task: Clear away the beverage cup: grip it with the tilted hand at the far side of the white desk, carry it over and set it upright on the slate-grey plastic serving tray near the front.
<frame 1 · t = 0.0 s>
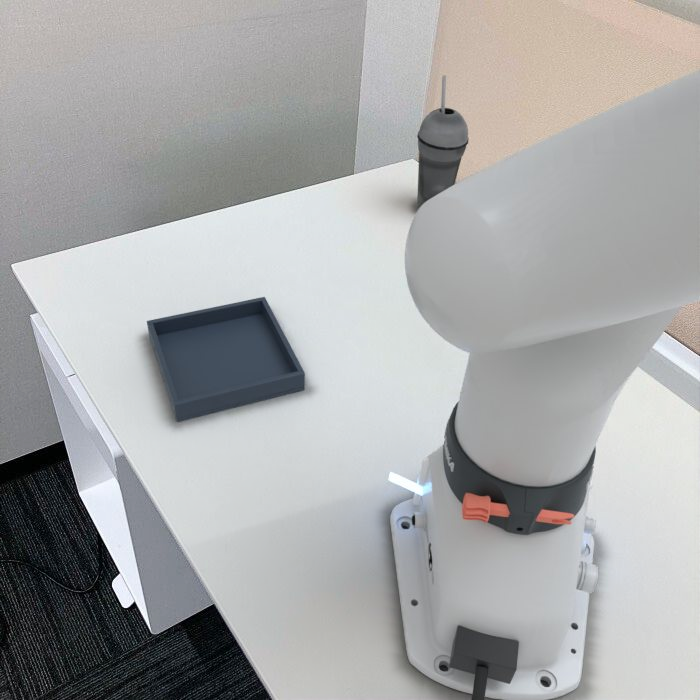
beverage cup: (432, 209, 112), on the table
tray: (224, 363, 84), on the table
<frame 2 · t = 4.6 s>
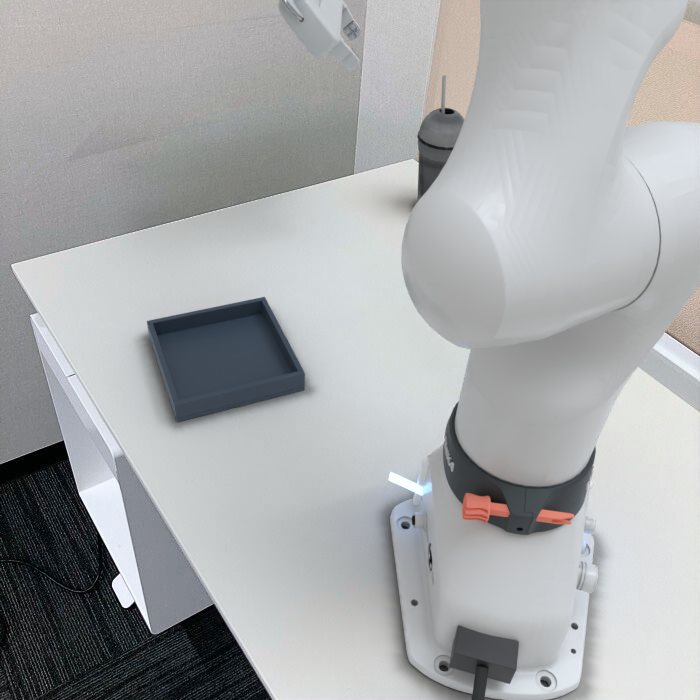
hand: (356, 50, 95), 23 cm above the table, tool tilted 45°, fingers open, 8 cm apart
nothing on the table moved.
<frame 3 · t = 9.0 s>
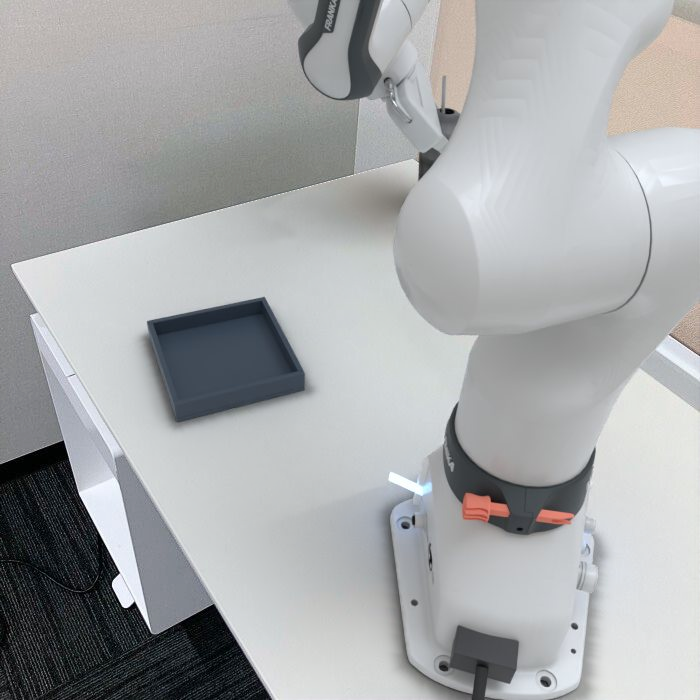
hand: (447, 138, 104), 11 cm above the table, tool tilted 45°, fingers closed on beverage cup, 7 cm apart
beverage cup: (432, 209, 112), on the table, touching gripper
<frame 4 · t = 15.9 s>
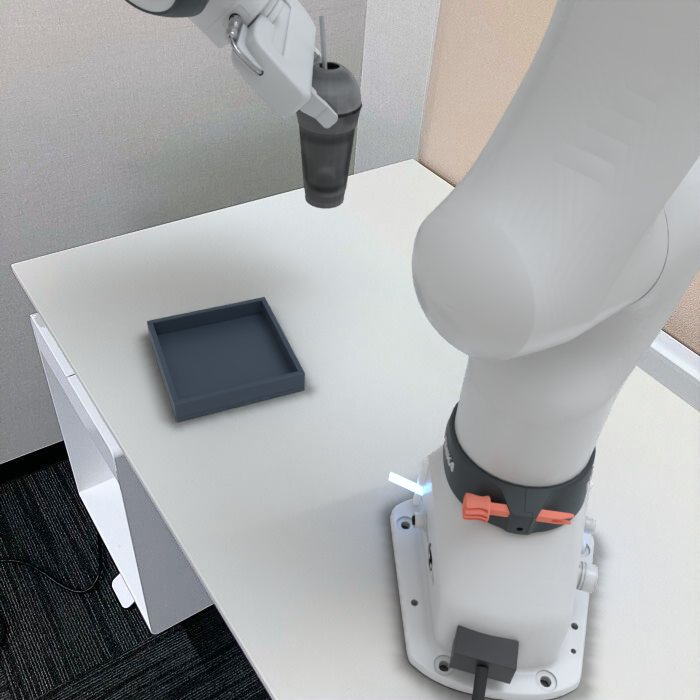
hand: (333, 103, 78), 25 cm above the table, tool tilted 45°, fingers closed on beverage cup, 7 cm apart
beverage cup: (324, 199, 86), point 14 cm above the table, touching gripper
when the fingers open (12 cm above the table, at t = 22.6 s): beverage cup stays where it is, resting on tray.
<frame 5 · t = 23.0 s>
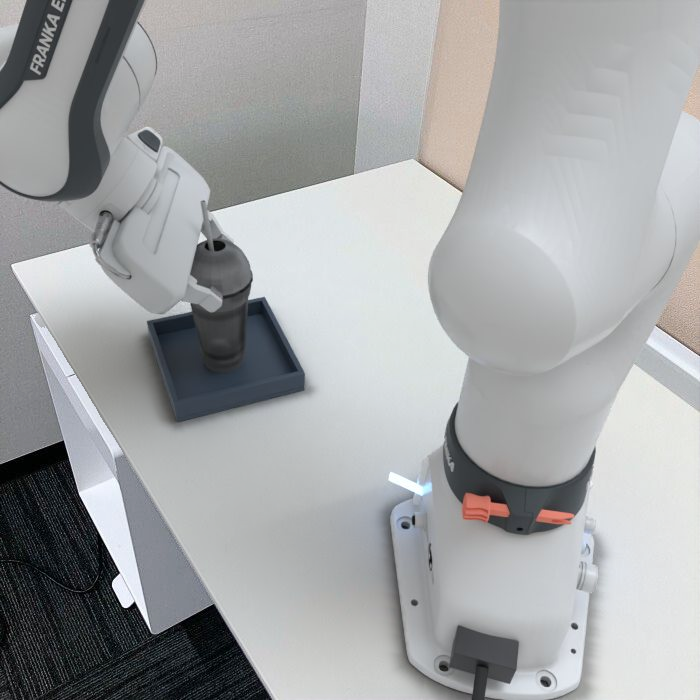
hand: (224, 276, 76), 12 cm above the table, tool tilted 45°, fingers open, 8 cm apart
beverage cup: (224, 360, 84), resting on tray
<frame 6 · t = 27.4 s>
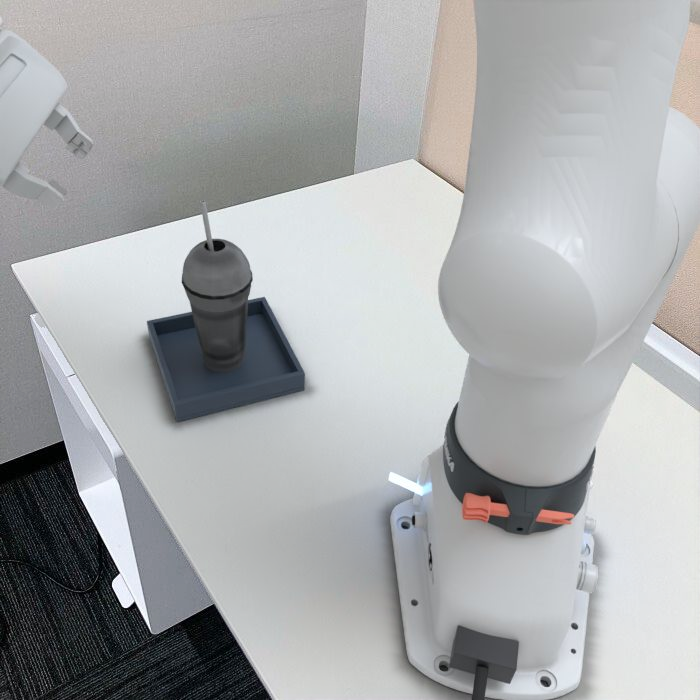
hand: (75, 175, 68), 23 cm above the table, tool tilted 45°, fingers open, 8 cm apart
nothing on the table moved.
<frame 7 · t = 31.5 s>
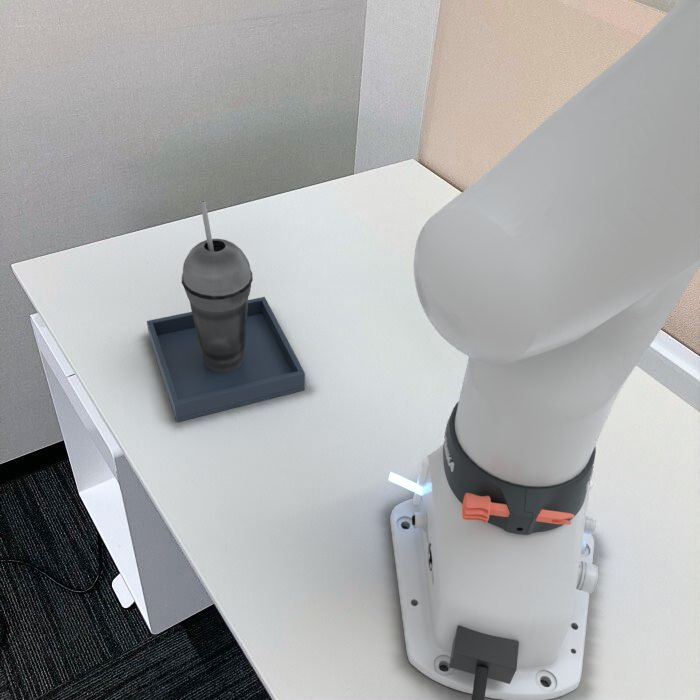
nothing on the table moved.
at the end: beverage cup inside the target area in the tray (0.1 cm from its centre), point 0.4 cm above the tray's base; beverage cup tilted 0°; the gripper is holding nothing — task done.
